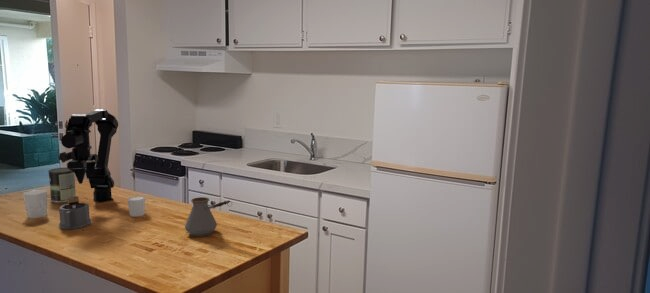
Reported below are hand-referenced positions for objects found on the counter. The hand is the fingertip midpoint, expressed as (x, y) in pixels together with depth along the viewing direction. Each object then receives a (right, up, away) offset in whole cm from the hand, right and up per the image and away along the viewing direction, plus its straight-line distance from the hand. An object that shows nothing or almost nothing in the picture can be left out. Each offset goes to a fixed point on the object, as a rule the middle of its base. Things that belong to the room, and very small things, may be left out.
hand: (84, 180), depth 186 cm
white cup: (-16, -14, -6) cm, 22 cm away
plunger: (+5, -13, -16) cm, 21 cm away
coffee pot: (+60, -18, -25) cm, 67 cm away
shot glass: (+23, -14, -2) cm, 27 cm away
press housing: (+5, -16, -16) cm, 23 cm away
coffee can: (-19, -10, +18) cm, 28 cm away
